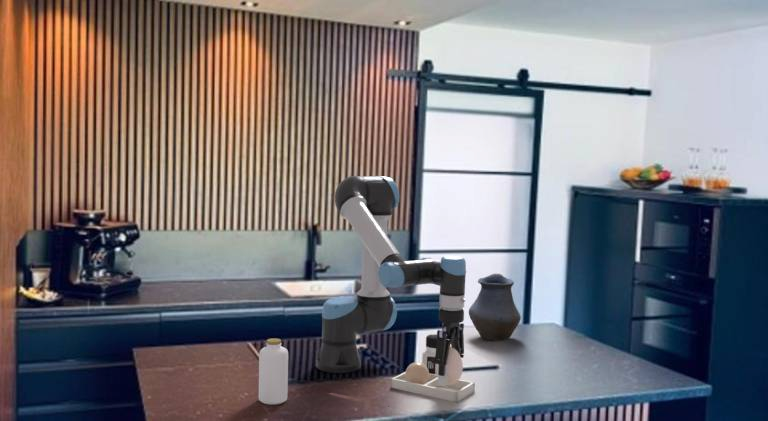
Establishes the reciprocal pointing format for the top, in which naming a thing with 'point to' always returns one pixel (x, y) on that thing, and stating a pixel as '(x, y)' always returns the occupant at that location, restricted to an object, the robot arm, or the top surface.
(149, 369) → the top surface
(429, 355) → the container
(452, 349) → the egg
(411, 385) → the tray
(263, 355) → the white bottle
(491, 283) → the dark clay urn
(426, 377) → the beige ball
